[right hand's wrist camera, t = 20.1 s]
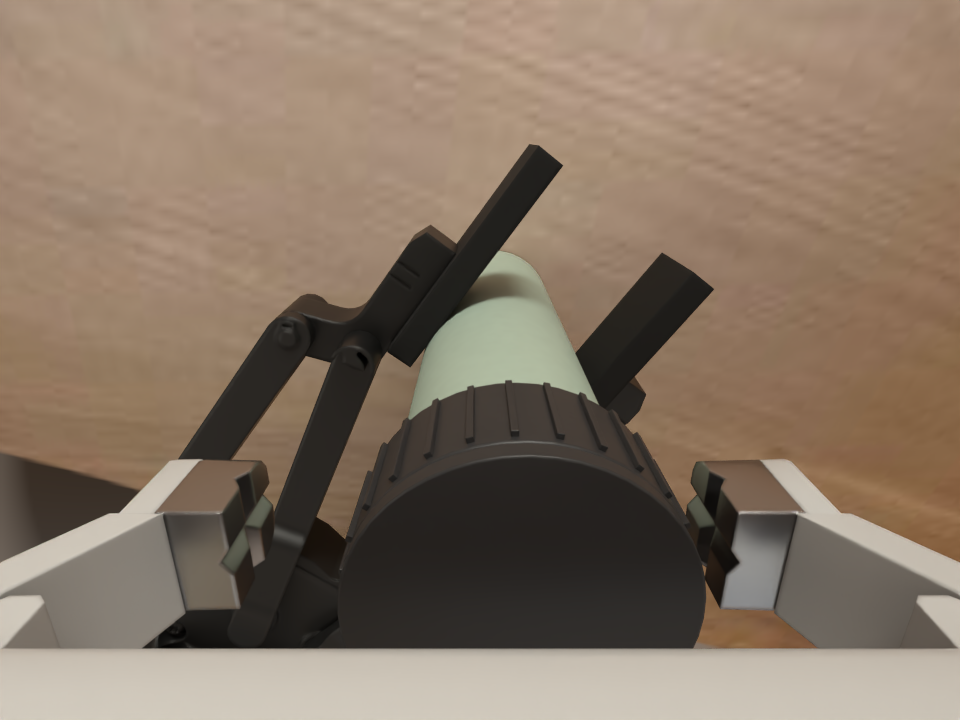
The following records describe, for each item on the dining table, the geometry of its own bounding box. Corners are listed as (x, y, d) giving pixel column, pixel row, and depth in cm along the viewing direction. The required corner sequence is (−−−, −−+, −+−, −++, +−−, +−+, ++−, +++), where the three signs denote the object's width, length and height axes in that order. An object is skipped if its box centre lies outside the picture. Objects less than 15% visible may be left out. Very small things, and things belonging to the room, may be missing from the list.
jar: (484, 375, 24) (496, 720, 10) (415, 297, 23) (313, 561, 9) (568, 311, 23) (716, 590, 9) (500, 226, 22) (545, 391, 8)
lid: (681, 378, 9) (745, 452, 7) (643, 629, 11) (684, 750, 9) (354, 374, 9) (315, 448, 7) (370, 627, 11) (344, 747, 9)
